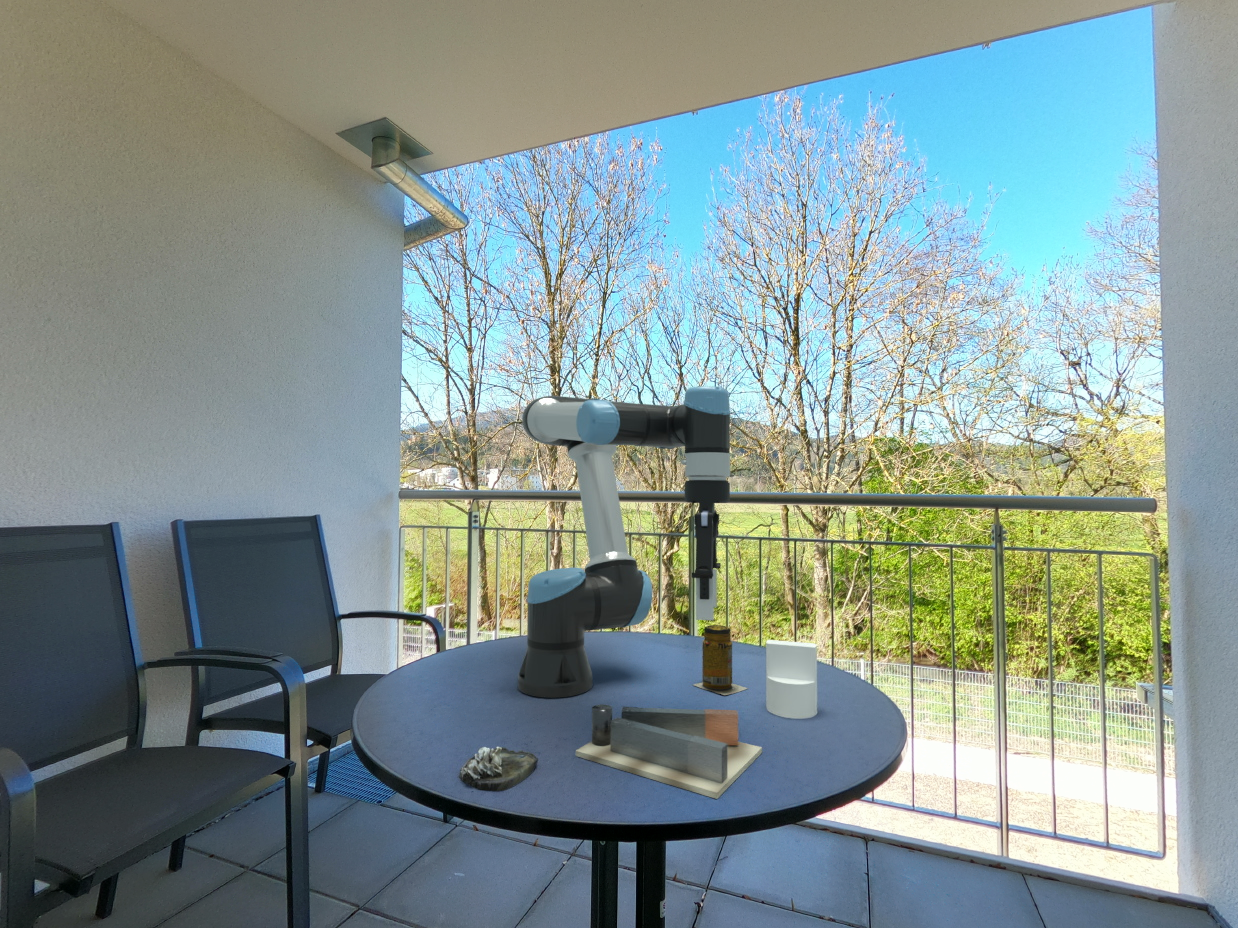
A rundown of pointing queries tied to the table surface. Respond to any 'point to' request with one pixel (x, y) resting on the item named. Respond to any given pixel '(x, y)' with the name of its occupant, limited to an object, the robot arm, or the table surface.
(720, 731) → the tong arm
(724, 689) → the condiment
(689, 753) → the tongs fixed
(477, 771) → the log
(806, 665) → the base with upright slab
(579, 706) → the table surface
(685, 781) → the board
